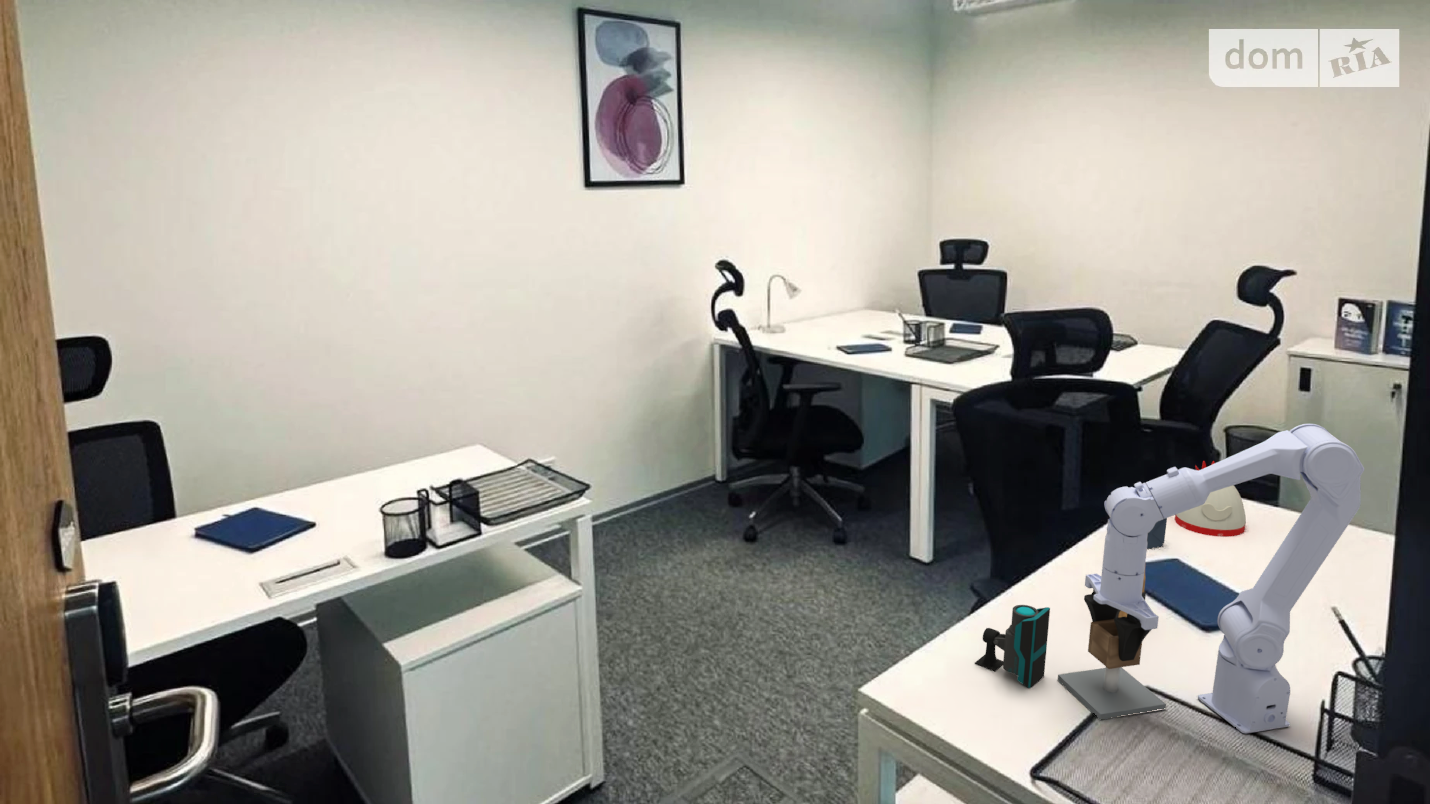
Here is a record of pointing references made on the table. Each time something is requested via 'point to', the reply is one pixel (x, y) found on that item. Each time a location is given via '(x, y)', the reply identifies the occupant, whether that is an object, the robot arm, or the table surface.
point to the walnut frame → (1108, 645)
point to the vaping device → (1157, 534)
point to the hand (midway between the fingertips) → (1114, 649)
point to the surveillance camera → (1020, 645)
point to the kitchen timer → (1216, 514)
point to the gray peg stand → (1110, 692)
